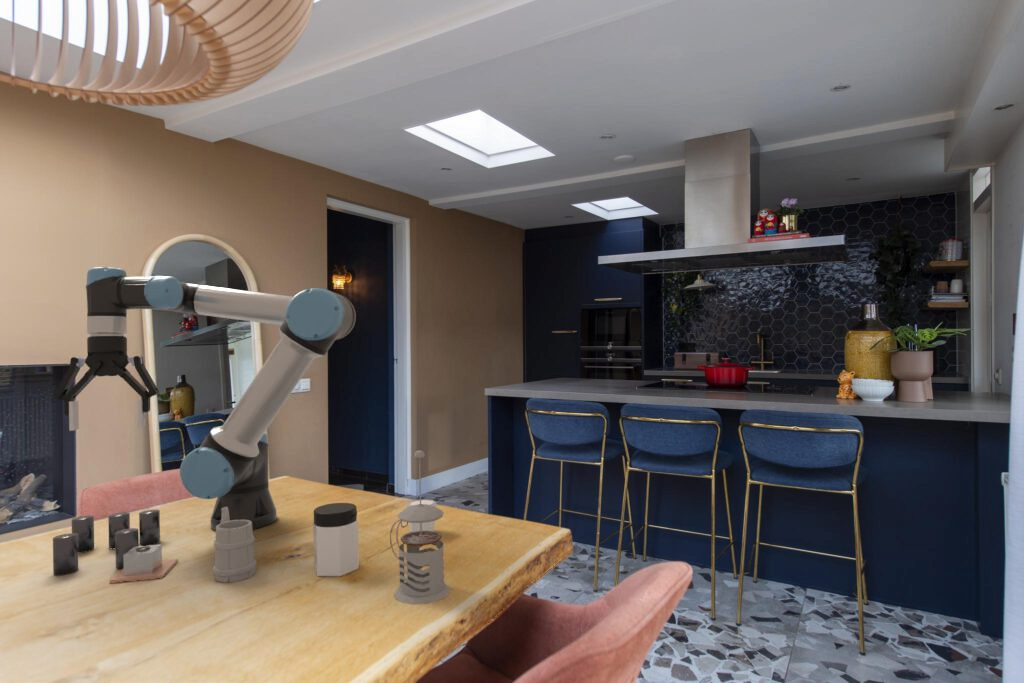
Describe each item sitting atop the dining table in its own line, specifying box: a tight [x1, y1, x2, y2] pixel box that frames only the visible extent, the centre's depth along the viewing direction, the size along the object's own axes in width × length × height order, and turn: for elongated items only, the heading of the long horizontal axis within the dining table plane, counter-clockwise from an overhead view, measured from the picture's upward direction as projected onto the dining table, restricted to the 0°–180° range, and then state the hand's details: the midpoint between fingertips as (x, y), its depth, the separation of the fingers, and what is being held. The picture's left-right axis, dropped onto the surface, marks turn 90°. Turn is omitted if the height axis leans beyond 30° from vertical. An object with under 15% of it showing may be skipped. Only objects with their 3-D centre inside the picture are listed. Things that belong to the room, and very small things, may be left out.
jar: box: [312, 502, 360, 577], centre depth 116 cm, size 9×8×12 cm
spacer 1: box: [52, 532, 79, 576], centre depth 118 cm, size 4×4×7 cm
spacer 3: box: [107, 511, 131, 550], centre depth 133 cm, size 4×4×7 cm
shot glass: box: [406, 499, 437, 533], centre depth 137 cm, size 7×7×7 cm
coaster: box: [109, 558, 179, 584], centre depth 116 cm, size 9×9×1 cm
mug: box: [212, 507, 257, 583], centre depth 115 cm, size 8×12×12 cm, turn 42°
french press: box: [389, 449, 451, 605], centre depth 105 cm, size 10×12×25 cm
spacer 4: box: [114, 527, 140, 570], centre depth 120 cm, size 4×4×7 cm
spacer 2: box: [71, 515, 95, 553], centre depth 131 cm, size 4×4×7 cm
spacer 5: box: [138, 509, 161, 546], centre depth 135 cm, size 4×4×7 cm
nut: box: [123, 543, 163, 576], centre depth 116 cm, size 5×5×4 cm
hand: (108, 428), depth 135 cm, fingers open, 13 cm apart
